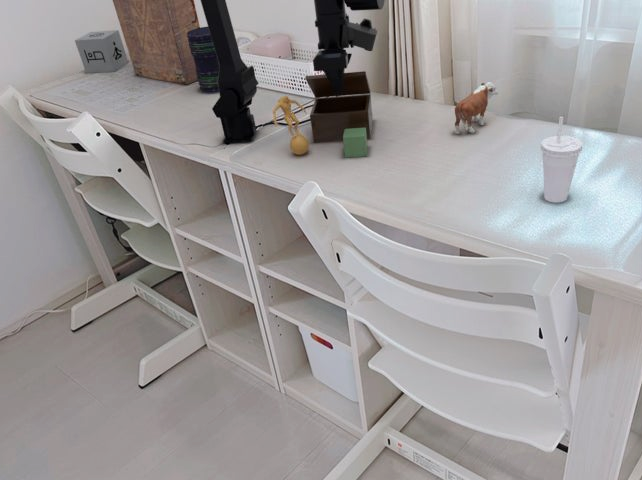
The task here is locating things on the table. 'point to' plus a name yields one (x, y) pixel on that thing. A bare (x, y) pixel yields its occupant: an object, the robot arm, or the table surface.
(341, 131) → the box
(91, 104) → the table surface
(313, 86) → the lid
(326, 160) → the table surface
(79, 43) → the icon cube
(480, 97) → the bull figurine
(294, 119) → the figurine
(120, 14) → the book
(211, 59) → the storage jar
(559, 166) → the smoothie
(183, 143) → the table surface
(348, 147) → the block
